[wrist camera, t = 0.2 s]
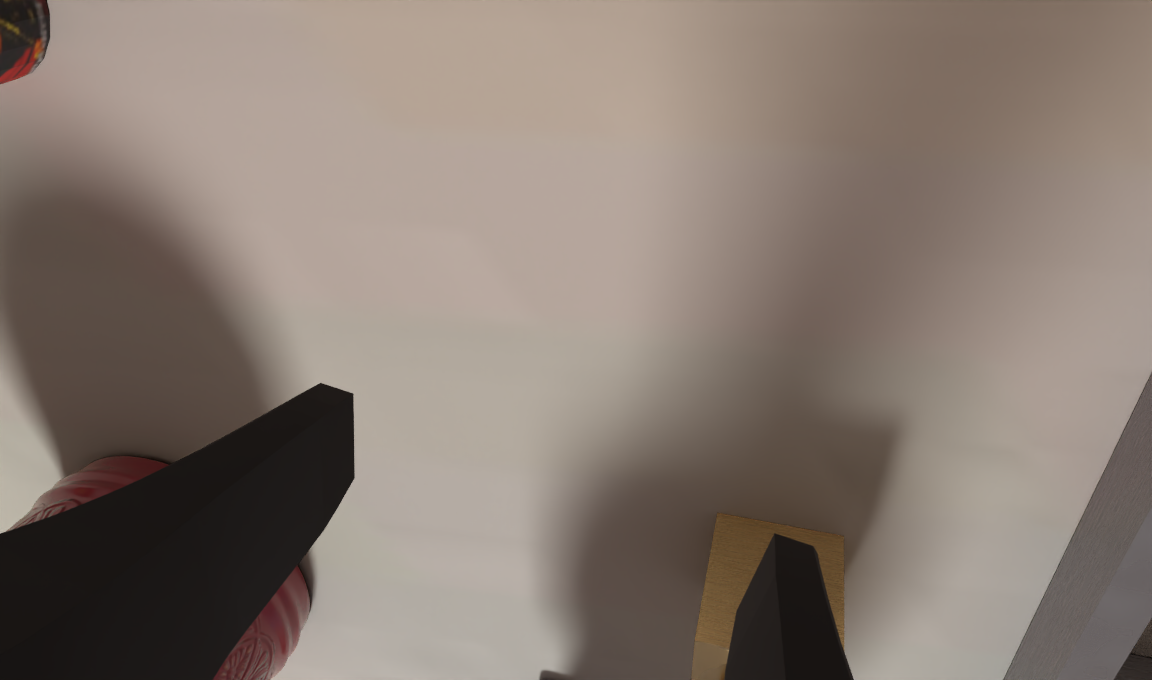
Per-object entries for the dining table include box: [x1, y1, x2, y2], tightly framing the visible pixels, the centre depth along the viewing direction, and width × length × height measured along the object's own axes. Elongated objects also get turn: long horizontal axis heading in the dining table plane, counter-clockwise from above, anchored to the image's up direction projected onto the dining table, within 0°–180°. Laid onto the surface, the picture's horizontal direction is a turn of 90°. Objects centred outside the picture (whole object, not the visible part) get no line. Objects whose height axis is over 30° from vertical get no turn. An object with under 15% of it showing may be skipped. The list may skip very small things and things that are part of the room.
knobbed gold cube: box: [691, 513, 844, 680], centre depth 24 cm, size 4×4×6 cm
